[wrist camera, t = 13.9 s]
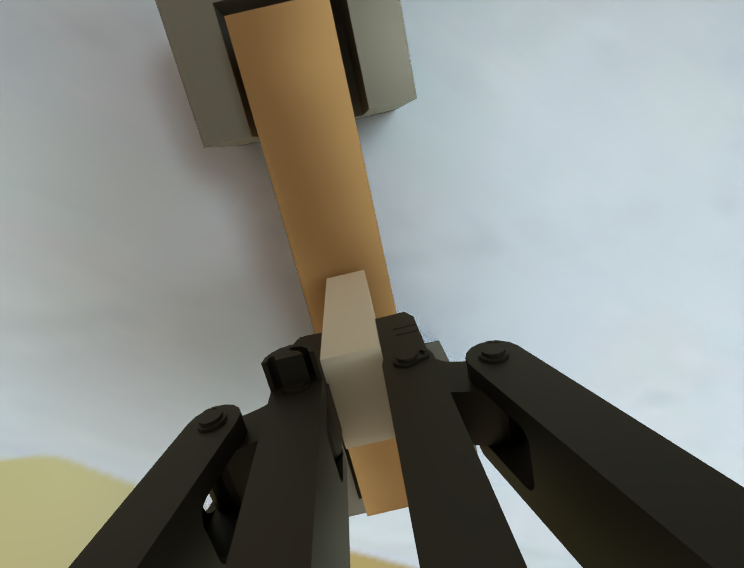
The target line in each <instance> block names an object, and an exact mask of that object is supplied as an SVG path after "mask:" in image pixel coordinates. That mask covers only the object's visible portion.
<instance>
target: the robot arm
mask: <svg viewBox="0 0 744 568" xmlns="http://www.w3.org/2000/svg"><path fill="white" fill-rule="evenodd" d="M465 359H466V361H463V362H447V361H441V360H438V359H435V357H434V354H433V353H432V352H431V351H430V350H429V349H427V348H426V346H425V343H424V341H423V338H422V336H421V334H420V331H419V329H418V327H417V325H416V322H415V320H414V317H413V316H411V315H409V314H407V313H405V312H402V313H398V314H393V315H389V316H385V317H380V318H376V317H375V313H374V309H373V305H372V301H371V296H370V292H369V288H368V284H367V279H366V275H365V271H364V270H361V271H357V272H352V273H348V274H344V275H339V276H335V277H331V278H327V280H326V292H325V305H324V317H323V329H322V332H321V333H317V334H313V335H308V336H304V337H300V338H299V339H298V340H297V341H296V342H295V343H294V344H293V345H289V346H286V347H283V348H280V349H278V350H276V351H274V352H272V353H271V354H269V355H268V356H267V357H266V358H265V359H264V360H263V362H262V363H261V364H262V367H263V370H264V373H265V376H266V379H267V382H268V385H269V387H270V390H271V394H270V398H269V401H268V404H267V405H266V406H264V407H262V408H260V409H258V410H255V411H253V412H251V413H248V414H246V415H244V416H242V414H241V412H240V409H239V408H238V407H237V406H235V405H221V406H215V407H212V408H211V409H210V408H209V409H207V410H205V411H204V412H203V413H201V414H200V415H198V416H196V417H195V418H194V419H193V420H192V421H191V422H190V423H189V424H188V425H187V426H186V427H185V428H184V429H183V431H182V432H181V433H180V434H179V435H178V437H177V438H176V439H175V440H174V441H173V443H172V444H171V445H170V446H169V447H168V449H167V450H166V451H165V452H164V453H163V455H162V456H161V457H160V458H159V459H158V461H157V462H156V463H155V464H154V465H153V467H152V468H151V469H150V470H149V471H148V473H147V474H146V475H145V476H144V477H143V479H142V480H141V481H140V482H139V483H138V485H137V486H136V487H135V488H134V489H133V491H132V492H131V493H130V494H129V496H128V497H127V498H126V499H125V500H124V502H123V503H122V504H121V505H120V507H119V508H118V509H117V510H116V511H115V512H114V513H113V515H112V516H111V517H110V518H109V519H108V521H107V522H106V523H105V524H104V526H103V527H102V528H101V529H100V530H99V531H98V533H97V534H96V535H95V536H94V538H93V539H92V540H91V541H90V542H89V544H88V545H87V546H86V547H85V548H84V549H83V551H82V552H81V553H80V554H79V556H78V557H77V558H76V559H75V560H74V562H73V563H72V564H71V565H70V566H69V568H350V546H349V514H348V482H347V461H346V458H345V455H344V451H343V448H342V437H343V440H344V444H345V447H346V449H349V448H354V447H358V446H362V445H366V444H371V443H375V442H379V441H384V440H388V439H392V438H396V443H397V448H398V453H399V459H400V464H401V469H402V475H403V480H404V485H405V490H406V496H407V501H408V506H409V512H410V517H411V522H412V528H413V533H414V538H415V543H416V549H417V554H418V559H419V565H420V568H527V566H526V564H525V561H524V559H523V557H522V555H521V552H520V550H519V548H518V545H517V543H516V541H515V539H514V536H513V534H512V532H511V530H510V527H509V525H508V523H507V520H506V518H505V516H504V514H503V511H502V509H501V507H500V504H499V502H498V500H497V498H496V495H495V493H494V491H493V489H492V486H491V484H490V482H489V479H488V477H487V475H486V473H485V470H484V468H483V466H482V464H481V461H480V459H479V457H478V454H477V452H476V450H475V448H474V445H480V448H481V450H482V452H483V454H484V455H485V456H486V458H487V459H488V460H489V461H490V462H491V463H492V464H493V466H494V467H495V468H496V469H497V470H498V471H499V472H500V474H501V475H502V476H503V477H504V478H505V479H506V480H507V482H508V483H509V484H510V485H511V486H512V487H513V488H514V490H515V491H516V492H517V493H518V494H519V495H520V496H521V498H522V499H523V500H524V501H525V502H526V503H527V504H528V506H529V507H530V508H531V509H532V510H533V511H534V512H535V514H536V515H537V516H538V517H539V518H540V519H541V520H542V522H543V523H544V524H545V525H546V526H547V527H548V528H549V530H550V531H551V532H552V533H553V534H554V535H555V536H556V538H557V539H558V540H559V541H560V542H561V543H562V544H563V546H564V547H565V548H566V549H567V550H568V551H569V552H570V554H571V555H572V556H573V557H574V558H575V559H576V560H577V562H578V563H579V564H580V565H581V566H582V567H583V568H744V487H742V486H741V485H739V484H738V483H736V482H734V481H733V480H731V479H730V478H728V477H726V476H725V475H723V474H722V473H720V472H718V471H717V470H715V469H714V468H712V467H711V466H709V465H707V464H706V463H704V462H703V461H701V460H699V459H698V458H696V457H695V456H693V455H691V454H690V453H688V452H687V451H685V450H683V449H682V448H680V447H679V446H677V445H675V444H674V443H672V442H671V441H669V440H668V439H666V438H664V437H663V436H661V435H660V434H658V433H656V432H655V431H653V430H652V429H650V428H648V427H647V426H645V425H644V424H642V423H640V422H639V421H637V420H636V419H634V418H632V417H631V416H629V415H628V414H626V413H625V412H623V411H621V410H620V409H618V408H617V407H615V406H613V405H612V404H610V403H609V402H607V401H605V400H604V399H602V398H601V397H599V396H597V395H596V394H594V393H593V392H591V391H589V390H588V389H586V388H585V387H583V386H582V385H580V384H578V383H577V382H575V381H574V380H572V379H570V378H569V377H567V376H566V375H564V374H562V373H561V372H559V371H558V370H556V369H554V368H553V367H551V366H550V365H548V364H546V363H545V362H543V361H542V360H540V359H539V358H537V357H535V356H534V355H532V354H531V353H529V352H527V351H526V350H524V349H523V348H521V347H519V346H518V345H515V344H513V343H511V342H505V341H499V340H494V341H487V342H484V343H480V344H478V345H476V346H474V347H472V348H471V349H470V350H469V351H468V352H467V353H466V358H465ZM208 494H210V496H211V499H212V501H213V502H212V503H211V505H210V507H209V508H208V509H207V510H206V511H205V510H204V508H203V505H204V502H205V500H206V498H207V496H208Z"/></svg>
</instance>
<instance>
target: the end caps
mask: <svg viewBox="0 0 744 568" xmlns="http://www.w3.org/2000/svg"><path fill="white" fill-rule="evenodd" d="M155 1H156V4H157V7H158V10H159V13H160V16H161V19H162V22H163V25H164V28H165V31H166V34H167V37H168V40H169V43H170V46H171V49H172V52H173V55H174V58H175V61H176V64H177V67H178V70H179V73H180V76H181V79H182V82H183V85H184V88H185V91H186V94H187V97H188V100H189V103H190V106H191V109H192V112H193V115H194V118H195V121H196V124H197V127H198V130H199V133H200V136H201V139H202V142H203V145H204V148H207V147H225V146H241V145H245V144H249V143H254V142H258V141H260V139H259V136H258V133H257V129H256V126H255V122H254V119H253V115H252V112H251V108H250V105H249V101H248V98H247V94H246V91H245V87H244V84H243V80H242V77H241V73H240V70H239V66H238V63H237V59H236V56H235V52H234V49H233V45H232V42H231V38H230V35H229V31H228V28H227V24H226V21H225V17H224V16H227V15H231V14H235V13H240V12H244V11H248V10H253V9H257V8H262V7H266V6H270V5H275V4H279V3H284V2H288V1H292V0H155ZM330 5H331V9H332V14H333V19H334V23H335V28H336V33H337V37H338V42H339V47H340V51H341V56H342V61H343V65H344V70H345V75H346V79H347V84H348V89H349V93H350V98H351V103H352V108H353V112H354V117H355V119H357V118H361V117H365V116H370V115H374V114H378V113H383V112H387V111H391V110H395V109H397V108H399V107H401V106H403V105H405V104H407V103H409V102H411V101H412V100H414V99H416V98H417V97H416V91H415V85H414V79H413V73H412V67H411V61H410V56H409V50H408V44H407V38H406V32H405V26H404V20H403V14H402V9H401V3H400V0H330ZM425 346H426V348H427V349H429V350H430V351H431V352H432V353H433V354H434V357H435V359H438V360H441V361H447V362H449V360H448V358H447V356H446V354H445V352H444V350H443V348H442V346H441V344H440V342H439V341H435V342H431V343H426V344H425ZM342 448H343V451H344V455H345V458H346V461H347V482H348V514H349V516H354V515H358V514H362V513H366V509H365V506H364V502H363V499H362V495H361V492H360V488H359V485H358V481H357V478H356V474H355V471H354V467H353V464H352V460H351V457H350V453H349V450H348V449H346V447H345V444H344V440H343V437H342ZM474 448H475V450H476V452H477V449H476V445H474Z"/></svg>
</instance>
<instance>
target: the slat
mask: <svg viewBox="0 0 744 568" xmlns="http://www.w3.org/2000/svg"><path fill="white" fill-rule="evenodd" d="M224 17H225V21H226V24H227V28H228V31H229V35H230V38H231V42H232V45H233V49H234V52H235V56H236V59H237V63H238V66H239V70H240V73H241V77H242V80H243V84H244V87H245V91H246V94H247V98H248V101H249V105H250V108H251V112H252V115H253V119H254V122H255V126H256V129H257V133H258V136H259V139H260V143H261V146H262V150H263V153H264V157H265V160H266V164H267V167H268V171H269V174H270V178H271V181H272V185H273V188H274V192H275V195H276V199H277V202H278V206H279V209H280V213H281V216H282V220H283V223H284V227H285V230H286V234H287V237H288V241H289V244H290V248H291V251H292V255H293V258H294V262H295V265H296V269H297V272H298V276H299V279H300V282H301V286H302V289H303V293H304V296H305V300H306V303H307V307H308V310H309V314H310V317H311V321H312V324H313V328H314V331H315V334H317V333H321V332H322V329H323V317H324V305H325V292H326V280H327V278H331V277H335V276H339V275H344V274H348V273H352V272H357V271H361V270H364V271H365V275H366V279H367V284H368V288H369V292H370V296H371V301H372V305H373V309H374V313H375V317H376V318H380V317H385V316H389V315H393V314H397V313H396V309H395V304H394V299H393V295H392V290H391V285H390V280H389V276H388V271H387V266H386V262H385V257H384V252H383V248H382V243H381V238H380V234H379V229H378V224H377V220H376V215H375V210H374V206H373V201H372V196H371V192H370V187H369V182H368V178H367V173H366V168H365V164H364V159H363V154H362V150H361V145H360V140H359V136H358V131H357V126H356V122H355V117H354V112H353V108H352V103H351V98H350V93H349V89H348V84H347V79H346V75H345V70H344V65H343V61H342V56H341V51H340V47H339V42H338V37H337V33H336V28H335V23H334V19H333V14H332V9H331V5H330V0H292V1H288V2H284V3H279V4H275V5H270V6H266V7H262V8H257V9H253V10H248V11H244V12H240V13H235V14H231V15H227V16H224ZM348 450H349V453H350V457H351V460H352V464H353V467H354V471H355V474H356V478H357V481H358V485H359V488H360V492H361V495H362V499H363V502H364V506H365V509H366V513H367V516H371V515H375V514H379V513H384V512H388V511H392V510H397V509H401V508H405V507H409V506H408V501H407V496H406V490H405V485H404V480H403V475H402V469H401V464H400V459H399V453H398V448H397V443H396V438H392V439H388V440H384V441H379V442H375V443H371V444H366V445H362V446H358V447H354V448H349V449H348Z"/></svg>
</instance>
